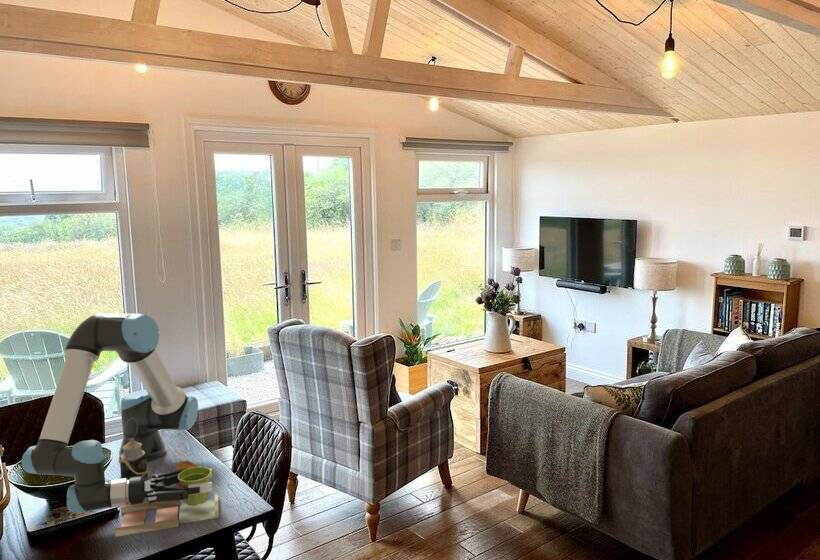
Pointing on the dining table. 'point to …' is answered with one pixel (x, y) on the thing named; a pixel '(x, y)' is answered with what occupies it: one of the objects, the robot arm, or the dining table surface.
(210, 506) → the trap box
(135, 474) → the lantern
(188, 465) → the fruit
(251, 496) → the dining table surface
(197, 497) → the plant pot
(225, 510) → the dining table surface
